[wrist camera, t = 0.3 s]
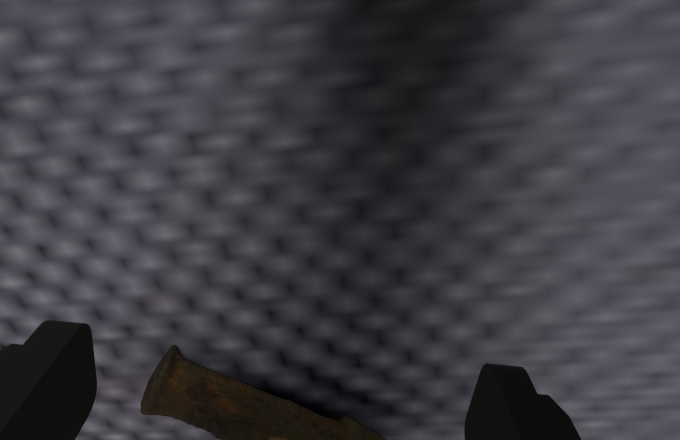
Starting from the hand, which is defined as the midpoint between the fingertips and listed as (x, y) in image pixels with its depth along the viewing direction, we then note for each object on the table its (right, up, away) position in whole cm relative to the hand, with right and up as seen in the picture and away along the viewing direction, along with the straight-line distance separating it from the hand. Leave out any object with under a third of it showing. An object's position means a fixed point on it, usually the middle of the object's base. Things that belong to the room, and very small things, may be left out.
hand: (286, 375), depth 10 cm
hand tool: (-2, -9, +25) cm, 27 cm away
